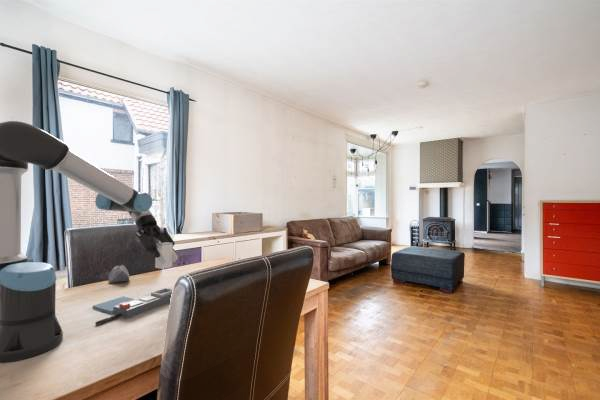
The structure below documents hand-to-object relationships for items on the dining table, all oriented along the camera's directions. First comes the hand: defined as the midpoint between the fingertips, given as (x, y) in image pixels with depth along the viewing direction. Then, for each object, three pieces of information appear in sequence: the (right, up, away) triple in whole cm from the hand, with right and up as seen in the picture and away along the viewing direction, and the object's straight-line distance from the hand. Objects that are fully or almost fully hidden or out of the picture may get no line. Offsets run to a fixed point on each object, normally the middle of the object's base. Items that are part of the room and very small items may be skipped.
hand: (170, 261), depth 118 cm
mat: (-19, -17, -4) cm, 25 cm away
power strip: (-8, -17, -7) cm, 20 cm away
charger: (-3, -3, +2) cm, 5 cm away
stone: (-38, -17, +29) cm, 51 cm away
